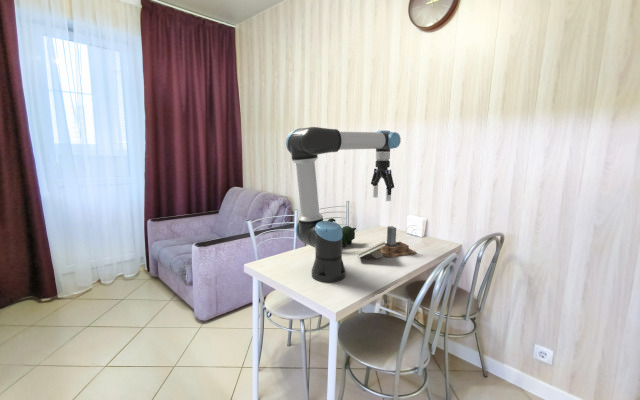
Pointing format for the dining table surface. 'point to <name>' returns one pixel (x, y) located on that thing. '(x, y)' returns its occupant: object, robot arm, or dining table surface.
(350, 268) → the dining table surface
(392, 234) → the bracket
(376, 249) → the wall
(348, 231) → the toy figurine
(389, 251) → the brown wooden flat frame
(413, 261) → the dining table surface
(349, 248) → the dining table surface
